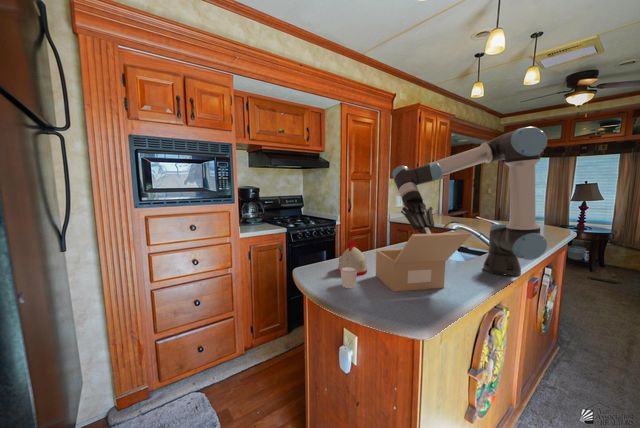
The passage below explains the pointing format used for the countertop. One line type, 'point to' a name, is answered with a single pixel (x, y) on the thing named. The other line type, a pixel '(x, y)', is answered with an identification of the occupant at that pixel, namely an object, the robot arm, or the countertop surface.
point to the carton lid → (431, 247)
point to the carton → (408, 272)
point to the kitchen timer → (353, 259)
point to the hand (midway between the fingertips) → (431, 244)
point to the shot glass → (348, 277)
